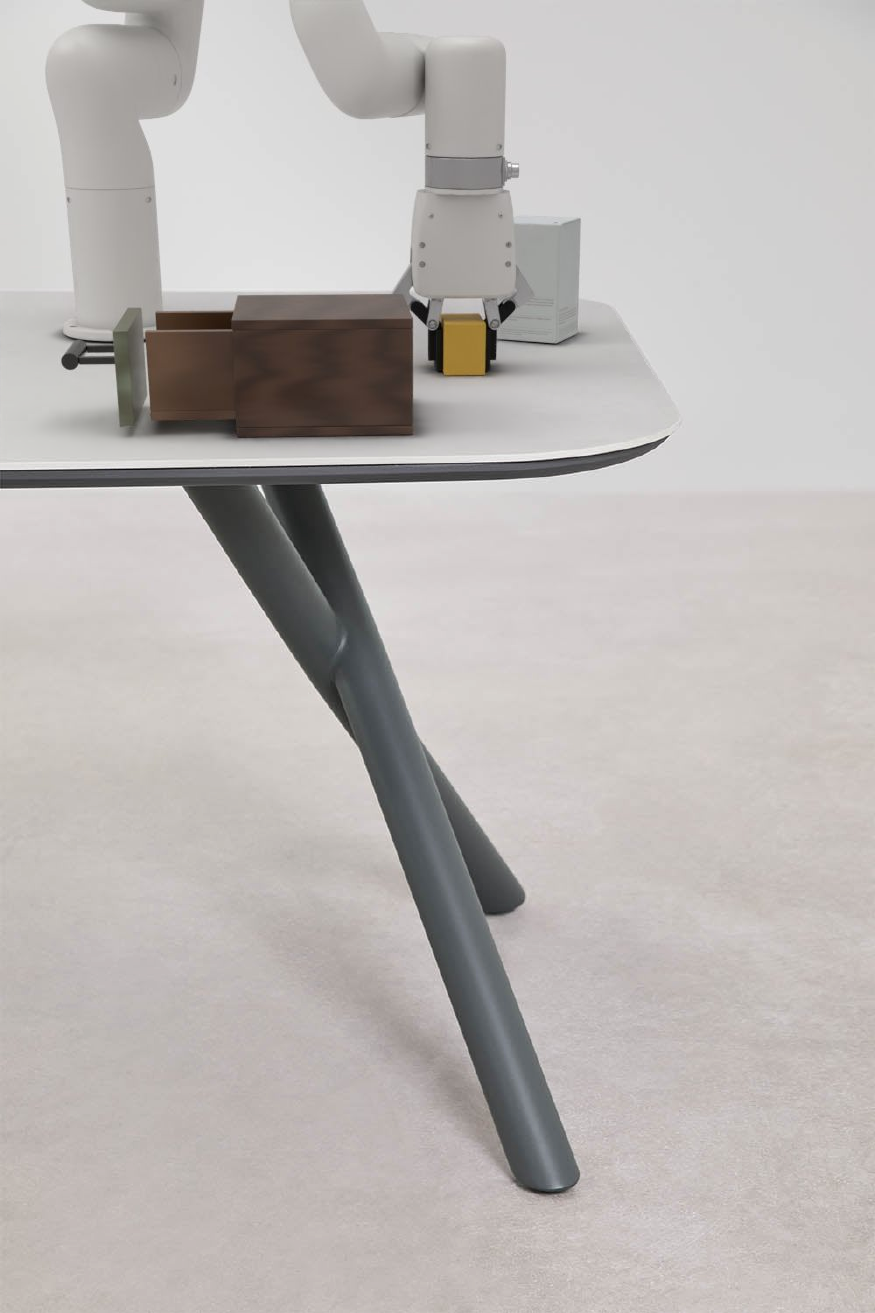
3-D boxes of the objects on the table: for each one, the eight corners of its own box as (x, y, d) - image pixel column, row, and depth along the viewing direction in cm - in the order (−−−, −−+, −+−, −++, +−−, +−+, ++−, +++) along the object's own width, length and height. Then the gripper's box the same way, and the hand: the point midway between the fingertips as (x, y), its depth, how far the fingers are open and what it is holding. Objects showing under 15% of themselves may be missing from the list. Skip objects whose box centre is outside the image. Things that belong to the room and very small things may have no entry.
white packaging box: (579, 333, 168) (584, 216, 163) (556, 345, 161) (560, 223, 157) (518, 328, 170) (520, 213, 166) (493, 339, 164) (495, 220, 159)
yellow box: (439, 363, 152) (439, 313, 150) (478, 362, 152) (479, 313, 150) (444, 375, 147) (444, 323, 145) (485, 375, 147) (486, 323, 145)
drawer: (61, 427, 123) (52, 331, 120) (80, 396, 133) (72, 307, 130) (284, 424, 124) (281, 329, 121) (286, 394, 135) (283, 306, 132)
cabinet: (236, 437, 124) (231, 320, 120) (242, 403, 135) (237, 294, 132) (413, 434, 125) (413, 318, 121) (403, 400, 136) (403, 293, 133)
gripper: (545, 172, 147) (539, 359, 154) (374, 172, 145) (376, 361, 152) (557, 179, 140) (550, 374, 147) (378, 179, 138) (379, 376, 145)
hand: (461, 365), depth 149 cm, fingers closed on yellow box, 4 cm apart
